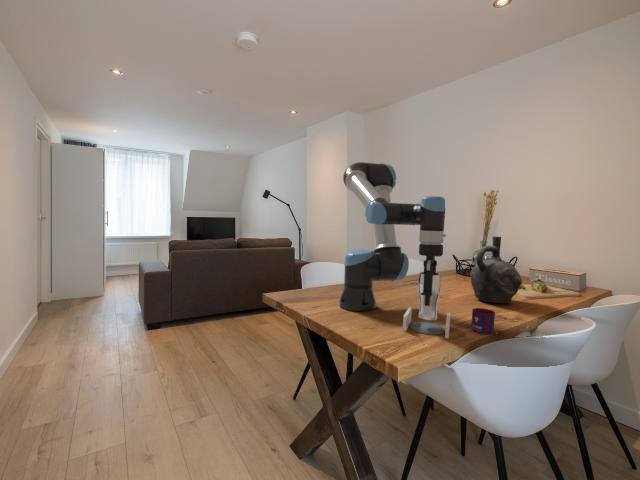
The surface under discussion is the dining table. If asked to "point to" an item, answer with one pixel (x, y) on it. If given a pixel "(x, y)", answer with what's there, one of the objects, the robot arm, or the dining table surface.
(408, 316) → the low walls
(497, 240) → the vessel
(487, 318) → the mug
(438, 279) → the beer glass
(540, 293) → the cutting board
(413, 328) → the slate coaster
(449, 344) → the dining table surface
